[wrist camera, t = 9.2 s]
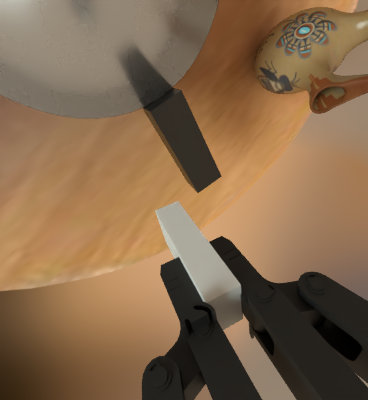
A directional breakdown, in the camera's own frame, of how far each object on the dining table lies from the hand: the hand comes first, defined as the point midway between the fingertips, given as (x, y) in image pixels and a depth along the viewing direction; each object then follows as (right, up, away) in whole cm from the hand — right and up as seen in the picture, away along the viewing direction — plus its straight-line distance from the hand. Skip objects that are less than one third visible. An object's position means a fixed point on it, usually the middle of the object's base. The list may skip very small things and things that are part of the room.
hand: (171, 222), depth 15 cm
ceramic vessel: (+15, +26, +24) cm, 39 cm away
